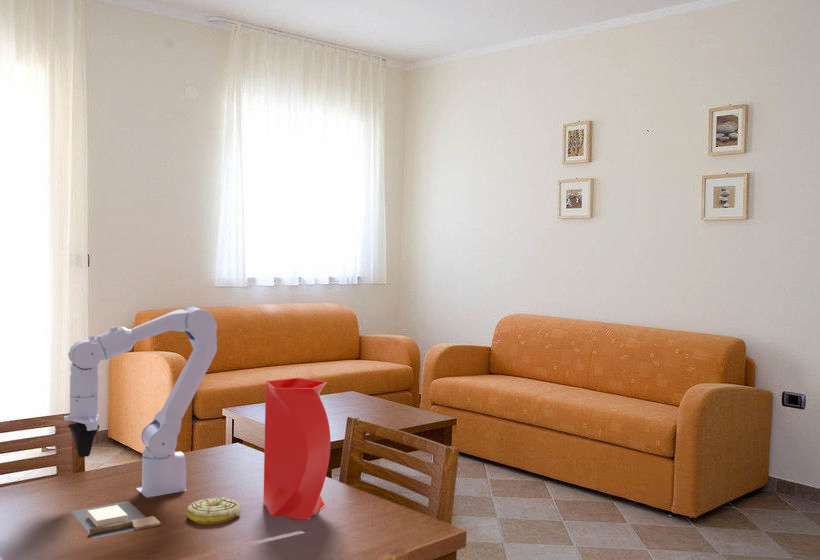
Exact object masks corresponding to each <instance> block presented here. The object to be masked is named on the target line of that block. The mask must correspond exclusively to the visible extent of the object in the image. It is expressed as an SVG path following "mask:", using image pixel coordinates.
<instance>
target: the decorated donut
mask: <svg viewBox="0 0 820 560" xmlns="http://www.w3.org/2000/svg"><path fill="white" fill-rule="evenodd" d="M240 514H241V505H240V504H239V503H238V502H237V501H236V500H235V499H232V498H231V497H230V498H229V497H224V496H223V497H222V496H221V497H219V496H218V497H208V498H207V497H206V498H203V499H199V500H196V501H194V502H192V503H190V504H189V505H188V506H187V511H186V515H187V518H188V519H189V521H191V522H193V523H195V524H198V525H205V526H206V525H219V524H220V525H221V524H225V523H228V522H230V521H233V520H234V519H236V518H237V517H239V515H240Z"/></svg>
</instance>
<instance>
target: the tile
mask: <svg viewBox="0 0 820 560" xmlns="http://www.w3.org/2000/svg"><path fill="white" fill-rule="evenodd" d="M88 517H89V518H90V520H91V521H92V522H93V523H94V524H95V525H96V526H97V527H102V526H107V525H111V524H116V523H121V522H125V521H128V515H127V514H126V513H125V512H124V511H123V510H122V509H121V508H120V507H119V506H118V505H115V506H110V507H104V508H99V509H93V510H88Z"/></svg>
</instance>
